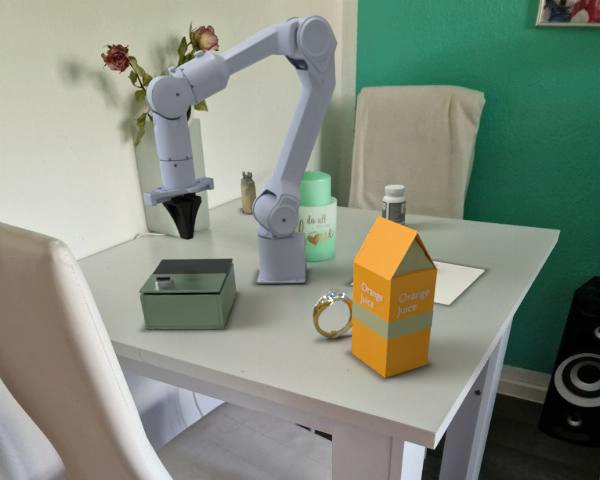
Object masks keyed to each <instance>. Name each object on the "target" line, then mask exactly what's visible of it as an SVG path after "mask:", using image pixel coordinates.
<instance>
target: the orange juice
mask: <svg viewBox="0 0 600 480" xmlns="http://www.w3.org/2000/svg"><path fill="white" fill-rule="evenodd" d="M433 261H434V260H433V259H432V258H431V255H430V253H429V251H428V249H427V248H426V245H425V244H424V242H423V240H422V238H421V236H420V235H419V231H418V230H416V229H413V228H410V227H408V226H403V225H400V224H398V223H395V222H393V221H390V220H388V219H385V218H382V216H380V215H378V216H377V217H376V219H375V220H374V223H373V225H372V227H371V228H370V230H369V232H368V234H367V236H366V237H365V239H364V241H363V243H362V245H361V247H360V248H359V251H357V254H356V255H355V258H354V259H353V278H352V279H353V280H352V283H353V285H352V327H351V354H352V355H354V356H355V357H356V358H357V359H359V360H360V361H362V363H364V364H365V365H367V366H368V367H369V368H371V369H372V370H373V371H375V372H376V373H378V374H379V375H380V376H381V377H383V378H384V379H387V378H389V377H393V376H396V375H399V374H402V373H406V372H408V371H411V370H414V369H417V368H418V369H419V368H421V367H424V366H427V365H428V359H429V352H430V351H429V350H430V340H431V332H432V327H433V319H434V318H433V317H434V306H435V305H434V304H435V302H434V296H435V287H436V278H437V269H438V268H436V267H435V265H434V263H433Z"/></svg>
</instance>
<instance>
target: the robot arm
mask: <svg viewBox="0 0 600 480" xmlns="http://www.w3.org/2000/svg"><path fill="white" fill-rule="evenodd" d="M337 46H338V41H337V37H336V35H335V32H334V31H333V29H332V26H331V24H330V22H329V21H328V19H326V18H325V17H324V16H322V15H318V14H311V15H309V16H301V17H300V16H291V17H288V18H287V19H285V20H284V21H280V22H276V23H273V24H271V25H269V26H266V27H264V28H263V29H261V30H259V31H258V32H256V33H254V34H252V35H251V36H250V37H248V38H246V39H244V40H243V41H241V42H240V43H238V44H236V45H234V46H233V47H231V48H229V49H228V50H226V51H224V52H223V53H221V54H218V53H216V52H214V51H212V50H207V51H203V50H202V49H200V50H197V51H195V52H194V53H193V57H194V58H192V59H190V60H188V61H187V62H185V63H183V64H180V65H179V66H177V67H175V66H174V65H172V66H169V67H168V68H167V71H168V75H158V76H155V77H154V78H152V79H151V80H150V81H149V83H148V85H147V87H146V93H145V94H146V95H145V96H144V98H145V102H146V104H147V106H148V108H149V109H150V110H151V111H152V112H151V114H152V123H153V127H154V128H153V133H154V139H155V145H156V152H157V157H158V164H159V171H160V177H161V182H162V185H161V186H158V187H156V188H154V189H152V190H149V191H147V192H143V193H142V196H143V201H144V205H145V206H147V207H152V208H153V207H157V206H158V205H159V204H162V207H164V208H165V210H166V211H167V212H168V214H169V216H170V217H171V219H172V221H173V223H174V225H175V227H176V229H177V232H178V234H179V237H180V239H182V240H186V241H190V240H193V239H194V234H195V226H196V220H197V216H198V213H199V209H200V207H201V206H202V205H201V204H202V202H203V201H202V196H201V195H197V193H200V192H204V191H212V190H215V182H214V177H209V176H203V177H199V178H196V170H195V163H194V157H193V149H192V141H191V140H192V139H191V132H190V127H189V122H188V111H189V108H190V106H192V107H194V106H196V105H197V104H199V103H201V102H203V101H205V100H206V99H209V98H210V97H213V96H214V95H216V94H217V93H219V92H222V91H223V90H225V89H226V88H227V86H228V82H229V79H230V77H231V76H232V75H234V74H236V73H238V72H240V71H242V70H244V69H246V68H249V67H250V66H253V65H255V64H256V63H258V62H261V61H262V60H264V59H267V58H268V57H270V56H273V55H274V56H284V57H285V59H286V60H287V61H288V63H290V65H292V67H293V68H294V69H295V71H296V73H297V76H298V78H299V81H300V83H301V86H302V88H301V91H300V94H299V97H298V100H297V103H296V106H295V109H294V111H293V115H292V117H291V120H290V123H289V126H288V130H287V133H286V136H285V137H284V138H285V139H284V141H283V144H282V147H281V150H280V153H279V156H278V159H277V161H276V164H275V167H274V171H273V174H272V176H271V177H270V178H269V179H268V180H267V181H266V182H265V183H264V185H263V188H262V190H261V192H260V194H259V195H257V196H256V199H255V201H254V203H253V206H252V212H253V213H252V215H253V218H254V220H255V221H256V222H257V223H258V228H257V231H256V232H257V245H258V246H257V247H258V258H259V259H258V260H259V272H258V275H257V279H256V284H259V285H261V284H264V285H265V284H304V283H305V284H306V276H307V271H308V261H307V252H306V248H307V247H306V246H307V245H306V233H305V232H303V231H302V232H300V231H296V229H297V227H298V226H299V222H300V211H299V210H300V207H301V204H302V196H301V190H300V187H301V184H302V181H303V178H304V175H305V172H306V169H307V166H308V164H309V161H310V158H311V156H312V153H313V149H314V148H315V145H316V142H317V139H318V136H319V133H320V130H321V128H322V125H323V123H324V120H325V117H326V114H327V112H328V109H329V106H330V103H331V100H332V98H333V95H334V92H335V89H336V84H337V83H336V82H337V81H336V79H337V78H336V55H335V53H336V51H337Z"/></svg>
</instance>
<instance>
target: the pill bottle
mask: <svg viewBox="0 0 600 480" xmlns="http://www.w3.org/2000/svg"><path fill="white" fill-rule="evenodd" d="M405 192H406V186H405V185H403V184H388V185H386V186H385V187H384V193H385V195H384V196H383V197H382V207H381V217H382V218H385V219H388V220H390V221H393V222H395V223H398V224H400V225H403V226H405V224H406V210H407V209H406V208H407V198H406V196H405V195H404V194H405Z"/></svg>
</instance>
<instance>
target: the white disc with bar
mask: <svg viewBox="0 0 600 480" xmlns="http://www.w3.org/2000/svg"><path fill="white" fill-rule="evenodd" d="M154 285H155V287H156V288H169V287H172V286H173V285H174V279H173V277H172V276H159V277H156V278H155V279H154Z"/></svg>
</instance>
